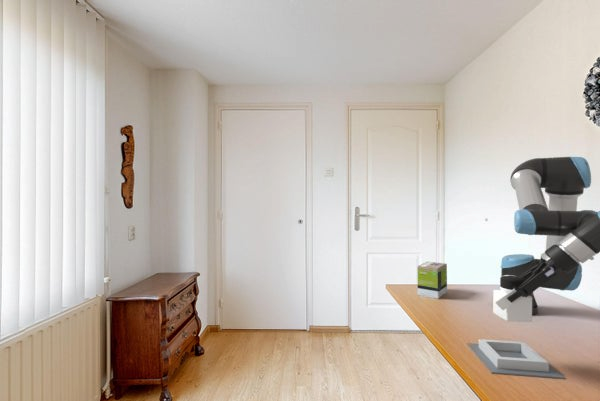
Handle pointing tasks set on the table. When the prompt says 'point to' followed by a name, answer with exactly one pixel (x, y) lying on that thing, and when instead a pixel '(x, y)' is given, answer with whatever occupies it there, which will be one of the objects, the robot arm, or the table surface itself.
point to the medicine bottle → (517, 310)
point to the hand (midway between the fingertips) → (499, 301)
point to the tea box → (432, 279)
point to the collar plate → (512, 359)
